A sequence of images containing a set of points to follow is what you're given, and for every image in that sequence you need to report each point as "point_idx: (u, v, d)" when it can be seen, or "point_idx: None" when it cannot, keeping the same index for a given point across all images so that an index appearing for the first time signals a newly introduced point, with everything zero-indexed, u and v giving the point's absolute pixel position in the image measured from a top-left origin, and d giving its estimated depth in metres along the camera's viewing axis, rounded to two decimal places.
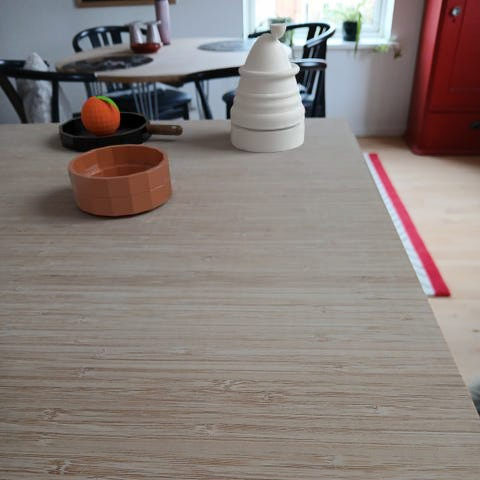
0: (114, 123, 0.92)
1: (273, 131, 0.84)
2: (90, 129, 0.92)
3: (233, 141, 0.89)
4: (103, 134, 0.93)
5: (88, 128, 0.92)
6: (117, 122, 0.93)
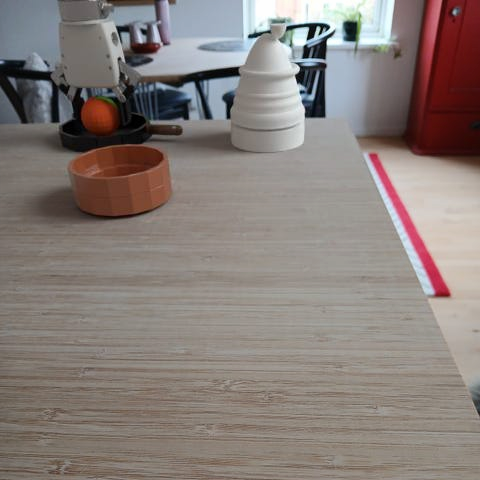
0: (114, 123, 0.92)
1: (273, 131, 0.84)
2: (90, 129, 0.92)
3: (233, 141, 0.89)
4: (103, 134, 0.93)
5: (88, 128, 0.92)
6: (117, 122, 0.93)
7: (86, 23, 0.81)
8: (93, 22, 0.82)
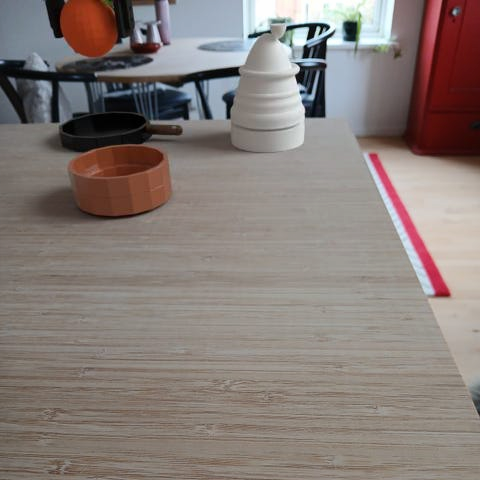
0: (109, 34, 0.62)
1: (273, 131, 0.84)
2: (74, 43, 0.62)
3: (233, 141, 0.89)
4: (93, 52, 0.63)
5: (71, 42, 0.62)
6: (114, 34, 0.63)
7: None
8: None
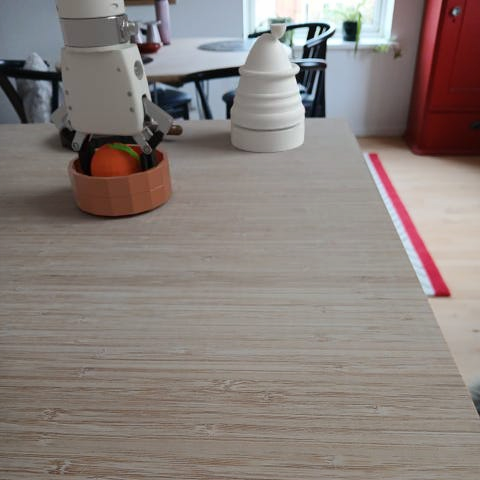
0: None
1: (273, 131, 0.84)
2: None
3: (233, 141, 0.89)
4: None
5: None
6: None
7: (100, 50, 0.58)
8: (109, 48, 0.58)
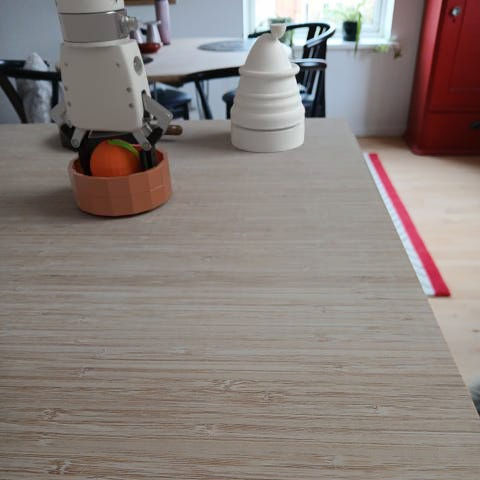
0: None
1: (273, 131, 0.84)
2: None
3: (233, 141, 0.89)
4: None
5: None
6: None
7: (99, 45, 0.58)
8: (109, 44, 0.58)
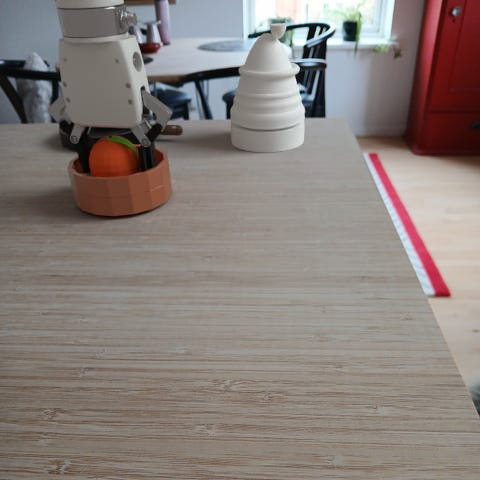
0: (134, 172, 0.68)
1: (273, 131, 0.84)
2: None
3: (233, 141, 0.89)
4: None
5: None
6: (137, 171, 0.69)
7: (98, 41, 0.57)
8: (108, 39, 0.58)
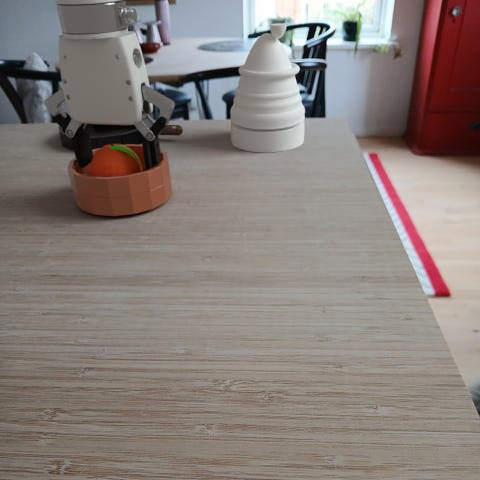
0: None
1: (273, 131, 0.84)
2: None
3: (233, 141, 0.89)
4: None
5: None
6: None
7: (98, 37, 0.57)
8: (108, 35, 0.57)
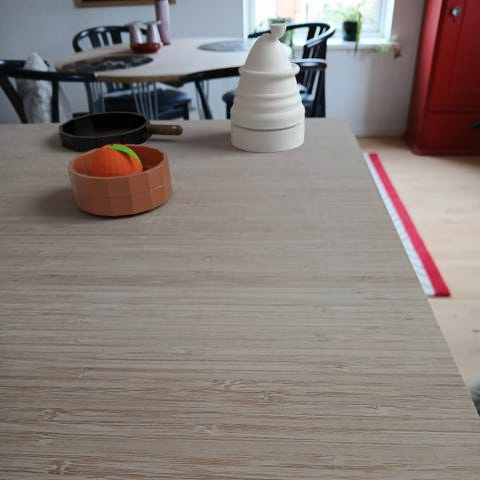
0: None
1: (273, 131, 0.84)
2: None
3: (233, 141, 0.89)
4: None
5: None
6: None
7: None
8: None
